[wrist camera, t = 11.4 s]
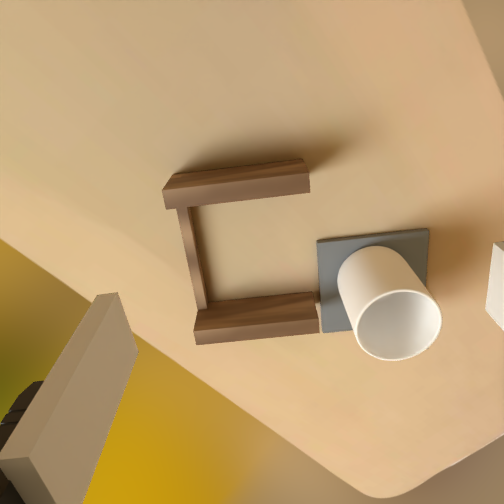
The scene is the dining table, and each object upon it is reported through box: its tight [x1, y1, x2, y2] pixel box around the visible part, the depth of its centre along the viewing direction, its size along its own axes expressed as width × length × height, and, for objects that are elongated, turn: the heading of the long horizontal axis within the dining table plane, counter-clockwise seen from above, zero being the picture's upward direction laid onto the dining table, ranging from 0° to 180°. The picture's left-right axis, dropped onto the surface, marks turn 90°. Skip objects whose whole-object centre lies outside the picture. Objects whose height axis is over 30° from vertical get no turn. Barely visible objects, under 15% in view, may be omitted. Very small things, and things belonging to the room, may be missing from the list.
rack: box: [162, 159, 319, 345], centre depth 47 cm, size 19×14×6 cm
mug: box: [337, 246, 442, 361], centre depth 47 cm, size 9×12×11 cm
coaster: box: [317, 228, 429, 333], centre depth 52 cm, size 13×13×1 cm
